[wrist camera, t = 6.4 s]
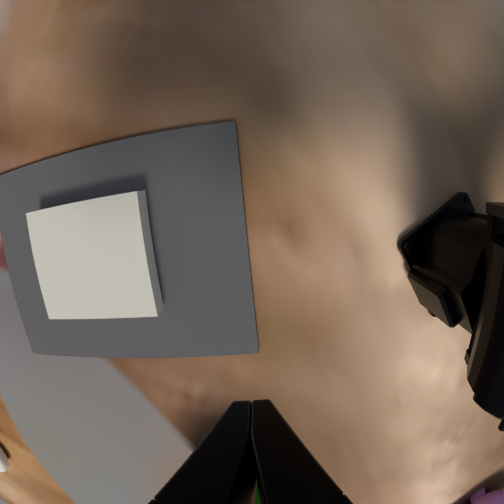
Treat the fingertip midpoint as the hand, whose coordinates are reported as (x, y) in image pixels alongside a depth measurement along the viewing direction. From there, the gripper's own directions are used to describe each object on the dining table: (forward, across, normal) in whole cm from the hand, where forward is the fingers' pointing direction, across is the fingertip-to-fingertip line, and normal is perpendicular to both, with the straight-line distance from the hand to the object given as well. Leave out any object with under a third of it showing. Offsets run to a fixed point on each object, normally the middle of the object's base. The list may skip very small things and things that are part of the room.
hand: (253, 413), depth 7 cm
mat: (+12, +9, -1) cm, 15 cm away
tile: (+11, +6, -2) cm, 12 cm away
